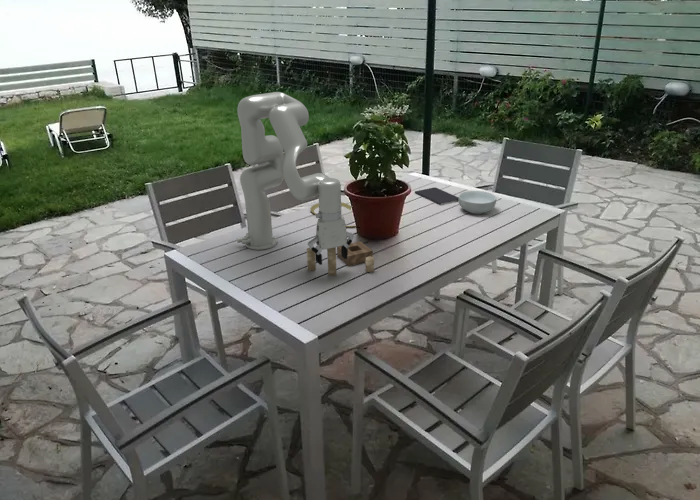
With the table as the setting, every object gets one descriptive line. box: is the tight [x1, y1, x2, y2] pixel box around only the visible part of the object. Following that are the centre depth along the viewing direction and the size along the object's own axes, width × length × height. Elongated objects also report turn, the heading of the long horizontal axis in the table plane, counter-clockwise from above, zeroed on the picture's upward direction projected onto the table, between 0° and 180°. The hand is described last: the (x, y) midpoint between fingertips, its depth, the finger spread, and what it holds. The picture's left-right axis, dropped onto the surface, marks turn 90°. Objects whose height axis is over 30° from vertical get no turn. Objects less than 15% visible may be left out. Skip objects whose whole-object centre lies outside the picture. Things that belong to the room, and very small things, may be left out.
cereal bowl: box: [458, 190, 497, 215], centre depth 251 cm, size 17×17×7 cm
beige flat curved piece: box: [310, 201, 357, 229], centre depth 251 cm, size 19×35×2 cm, turn 35°
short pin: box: [365, 256, 375, 273], centre depth 198 cm, size 3×3×5 cm
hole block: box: [336, 240, 374, 267], centre depth 208 cm, size 10×10×4 cm
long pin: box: [326, 247, 338, 277], centre depth 194 cm, size 3×3×12 cm
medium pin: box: [306, 247, 317, 272], centre depth 199 cm, size 3×3×8 cm
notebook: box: [414, 187, 459, 206], centre depth 272 cm, size 13×2×21 cm
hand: (331, 260), depth 195 cm, fingers open, 9 cm apart
